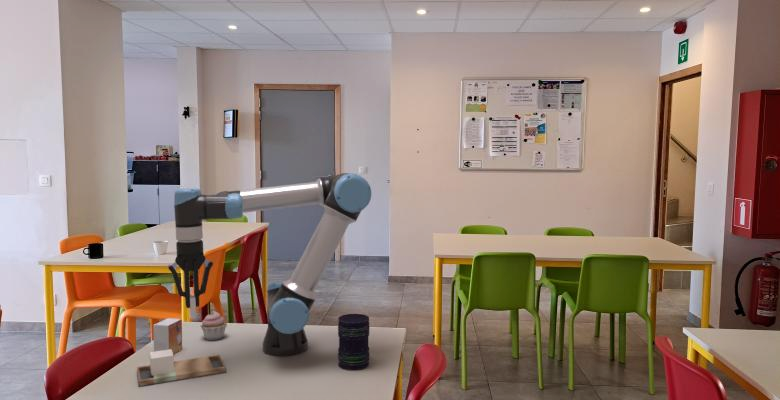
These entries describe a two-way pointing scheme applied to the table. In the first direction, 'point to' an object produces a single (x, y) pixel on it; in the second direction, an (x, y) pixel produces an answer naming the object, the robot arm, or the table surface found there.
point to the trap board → (183, 370)
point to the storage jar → (353, 342)
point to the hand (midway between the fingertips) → (193, 317)
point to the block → (161, 362)
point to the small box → (168, 335)
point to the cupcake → (213, 326)
